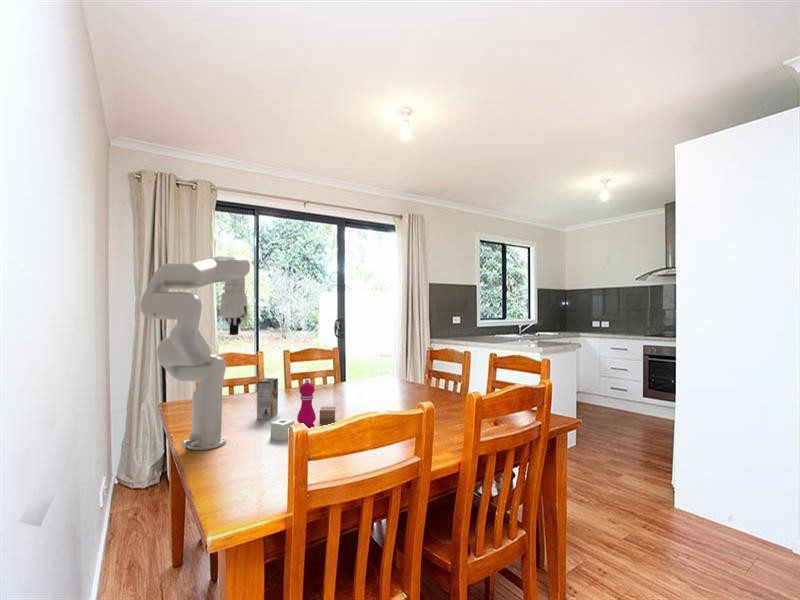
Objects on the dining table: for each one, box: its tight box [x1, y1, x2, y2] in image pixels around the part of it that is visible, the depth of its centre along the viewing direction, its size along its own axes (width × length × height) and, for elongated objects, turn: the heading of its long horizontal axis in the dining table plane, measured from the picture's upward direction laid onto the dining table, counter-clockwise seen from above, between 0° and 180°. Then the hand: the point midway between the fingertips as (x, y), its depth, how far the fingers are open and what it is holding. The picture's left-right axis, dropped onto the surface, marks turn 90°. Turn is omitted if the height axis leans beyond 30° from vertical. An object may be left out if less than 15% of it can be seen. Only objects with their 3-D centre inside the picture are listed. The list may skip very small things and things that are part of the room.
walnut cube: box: [318, 406, 336, 426], centre depth 169 cm, size 6×6×6 cm
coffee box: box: [256, 377, 279, 420], centre depth 177 cm, size 9×6×16 cm
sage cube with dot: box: [270, 418, 295, 441], centre depth 150 cm, size 6×6×6 cm
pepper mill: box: [296, 378, 317, 428], centre depth 160 cm, size 7×7×20 cm
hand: (233, 334), depth 162 cm, fingers closed
